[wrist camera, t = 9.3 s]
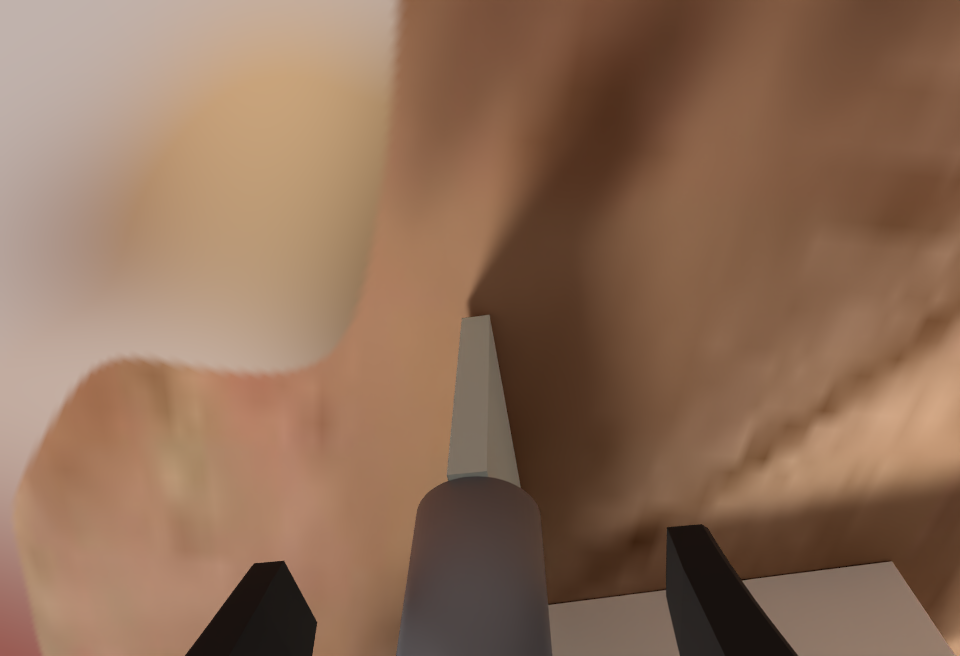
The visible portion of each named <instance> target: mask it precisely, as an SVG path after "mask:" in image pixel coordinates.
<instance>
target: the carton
mask: <svg viewBox="0 0 960 656" xmlns="http://www.w3.org/2000/svg"><path fill="white" fill-rule="evenodd" d="M742 582H743V583H744V584H745V586H746V587H747V589H748V590H749V591H750V593H751V594H752V596H753V597H754V598H755V600H756V601H757V603H758V604H759V605H760V607H761V608H762V609H763V611H764V612H765V613H766V615H767V616H768V617H769V619H770V620H771V621H772V623H773V624H774V625H775V626H776V628H777V629H778V630H779V632H780V633H781V634H782V635H783V637H784V638H785V639H786V641H787V642H788V643H789V644H790V646H791V647H792V648H793V650H794V651H795V652H796V653H797V655H798V656H956V655H955V654H954V653H953V651H952V650H951V648H950V647H949V645H948V644H947V642H946V641H945V639H944V638H943V636H942V635H941V633H940V632H939V630H938V629H937V627H936V626H935V624H934V623H933V621H932V620H931V618H930V617H929V615H928V614H927V612H926V611H925V609H924V608H923V606H922V605H921V603H920V602H919V600H918V599H917V597H916V596H915V595H914V593H913V592H912V590H911V589H910V587H909V586H908V584H907V583H906V581H905V580H904V578H903V577H902V575H901V574H900V572H899V571H898V569H897V568H896V566H895V565H894V563H893V562H892V561H890V562H882V563H874V564H867V565H859V566H851V567H843V568H835V569H827V570H820V571H812V572H804V573H796V574H788V575H780V576H772V577H765V578H757V579H749V580H742ZM548 609H549V621H550V633H551V645H552V656H680V654H679V650H678V646H677V642H676V638H675V633H674V629H673V625H672V620H671V616H670V612H669V607H668V603H667V598H666V590H663V591H655V592H647V593H639V594H631V595H623V596H615V597H608V598H600V599H592V600H584V601H576V602H568V603H561V604H553V605H548Z"/></svg>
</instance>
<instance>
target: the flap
mask: <svg viewBox="0 0 960 656" xmlns="http://www.w3.org/2000/svg"><path fill="white" fill-rule="evenodd" d="M447 477H448V481H447V482H444V483H442V484H440V485H438V486H437V487H435V488H434V489H432V490H431V491H430V492H428V493H427V494H426V495H425V497H424V498H423V499H422V501H421V502H420V504H419V506H418V509H417V515H416V522H415V529H414V535H413V542H412V549H411V556H410V563H409V570H408V577H407V584H406V591H405V598H404V605H403V612H402V618H401V625H400V632H399V639H398V646H397V653H396V656H552V645H551V633H550V621H549V609H548V597H547V585H546V573H545V561H544V549H543V537H542V525H541V514H540V510H539V508H538V506H537V504H536V502H535V501H534V499H533V498H532V497H531V496H530V495H529V494H528V493H527V492H526V491H524V490H523V489H521V486H520V480H519V475H518V469H517V464H516V458H515V453H514V447H513V442H512V436H511V431H510V425H509V420H508V414H507V409H506V403H505V397H504V392H503V386H502V381H501V375H500V370H499V364H498V359H497V353H496V348H495V342H494V337H493V331H492V326H491V320H490V315H483V316H476V317H468V318H462V322H461V333H460V343H459V354H458V364H457V374H456V385H455V395H454V406H453V416H452V427H451V437H450V448H449V458H448V469H447Z"/></svg>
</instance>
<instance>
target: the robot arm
mask: <svg viewBox="0 0 960 656" xmlns="http://www.w3.org/2000/svg"><path fill="white" fill-rule="evenodd" d="M666 598H667V603H668V607H669V612H670V616H671V620H672V625H673V629H674V633H675V638H676V642H677V646H678V650H679V654H680V656H798V655H797V653H796V652H795V651H794V650H793V648H792V647H791V646H790V644H789V643H788V642H787V641H786V639H785V638H784V637H783V635H782V634H781V633H780V632H779V630H778V629H777V628H776V626H775V625H774V624H773V623H772V621H771V620H770V619H769V617H768V616H767V615H766V613H765V612H764V611H763V609H762V608H761V607H760V605H759V604H758V603H757V601H756V600H755V598H754V597H753V596H752V594H751V593H750V591H749V590H748V589H747V587H746V586H745V584H744V583H743V582H742V580H741V579H740V577H739V576H738V574H737V573H736V571H735V570H734V569H733V567H732V566H731V564H730V563H729V561H728V560H727V558H726V557H725V555H724V554H723V552H722V550H721V549H720V547H719V546H718V544H717V543H716V541H715V539H714V538H713V536H712V534H711V533H710V531H709V529H708V528H707V527H705V526H704V525H702V524H701V525H689V526H678V527H667V557H666ZM316 626H317V621H316V619H315V618H314V616H313V614H312V612H311V610H310V608H309V606H308V605H307V603H306V601H305V599H304V597H303V595H302V593H301V592H300V590H299V588H298V586H297V584H296V582H295V580H294V579H293V577H292V575H291V573H290V571H289V569H288V567H287V565H286V564H285V562H284V561H277V562H265V563H254V564H253V566H252V567H251V568H250V569H249V571H248V572H247V573H246V575H245V576H244V577H243V579H242V580H241V581H240V583H239V584H238V585H237V587H236V588H235V589H234V591H233V592H232V593H231V595H230V596H229V597H228V599H227V600H226V602H225V603H224V604H223V606H222V607H221V608H220V610H219V611H218V612H217V614H216V615H215V616H214V618H213V619H212V620H211V622H210V623H209V624H208V626H207V627H206V629H205V630H204V631H203V633H202V634H201V635H200V637H199V638H198V639H197V641H196V642H195V643H194V645H193V646H192V647H191V648H190V650H189V651H188V652H187V654H186V655H185V656H312V653H313V646H314V640H315V633H316Z"/></svg>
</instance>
